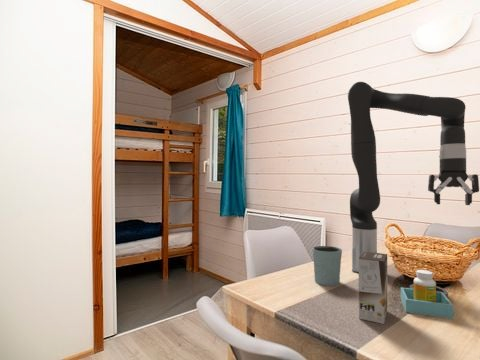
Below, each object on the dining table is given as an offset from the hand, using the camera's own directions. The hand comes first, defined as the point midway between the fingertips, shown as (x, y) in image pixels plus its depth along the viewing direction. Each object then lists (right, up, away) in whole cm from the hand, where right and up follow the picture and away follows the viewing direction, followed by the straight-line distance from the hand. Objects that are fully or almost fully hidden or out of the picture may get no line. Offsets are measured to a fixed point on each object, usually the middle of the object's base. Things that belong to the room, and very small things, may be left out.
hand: (452, 204), depth 103 cm
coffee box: (-37, -28, -22) cm, 52 cm away
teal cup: (-42, -28, +4) cm, 51 cm away
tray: (-21, -28, -18) cm, 39 cm away
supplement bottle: (-21, -28, -18) cm, 39 cm away
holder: (-14, -28, -9) cm, 33 cm away
